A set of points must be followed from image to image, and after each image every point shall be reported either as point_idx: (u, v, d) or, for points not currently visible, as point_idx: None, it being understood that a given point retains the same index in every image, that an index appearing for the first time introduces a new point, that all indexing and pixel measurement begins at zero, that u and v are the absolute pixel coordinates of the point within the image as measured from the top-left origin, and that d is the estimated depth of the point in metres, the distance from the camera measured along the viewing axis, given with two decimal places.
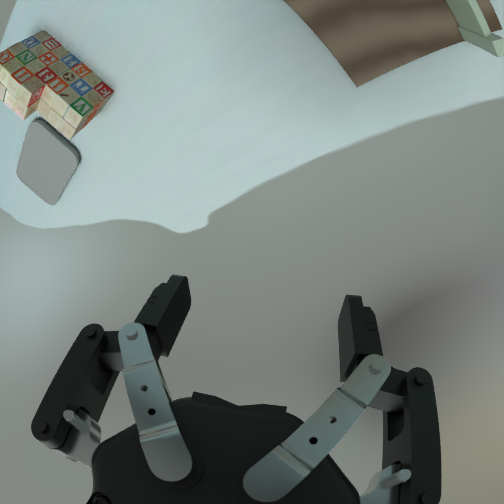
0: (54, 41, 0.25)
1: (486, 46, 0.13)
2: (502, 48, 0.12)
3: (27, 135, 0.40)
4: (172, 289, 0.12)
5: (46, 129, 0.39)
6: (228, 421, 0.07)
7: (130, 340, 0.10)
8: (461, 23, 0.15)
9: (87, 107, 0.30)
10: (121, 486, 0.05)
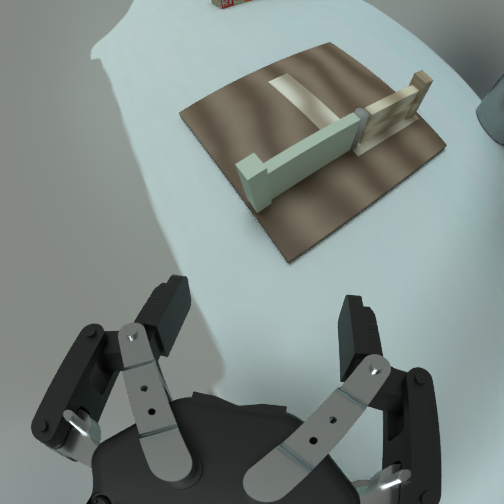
0: None
1: None
2: (251, 169, 0.23)
3: None
4: (172, 289, 0.12)
5: None
6: (228, 421, 0.07)
7: (130, 340, 0.10)
8: None
9: None
10: (121, 486, 0.05)
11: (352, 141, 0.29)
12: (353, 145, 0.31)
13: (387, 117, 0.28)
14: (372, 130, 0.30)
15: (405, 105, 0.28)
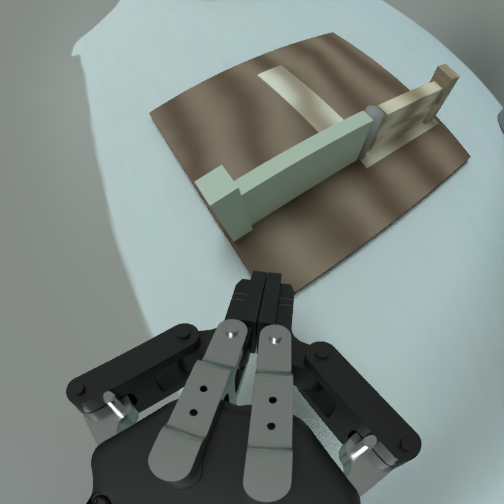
0: None
1: None
2: (215, 189, 0.16)
3: None
4: (259, 284, 0.13)
5: None
6: (228, 421, 0.07)
7: (233, 338, 0.10)
8: None
9: None
10: (105, 481, 0.05)
11: (360, 149, 0.23)
12: (360, 154, 0.24)
13: (404, 119, 0.22)
14: (385, 135, 0.23)
15: (425, 106, 0.21)
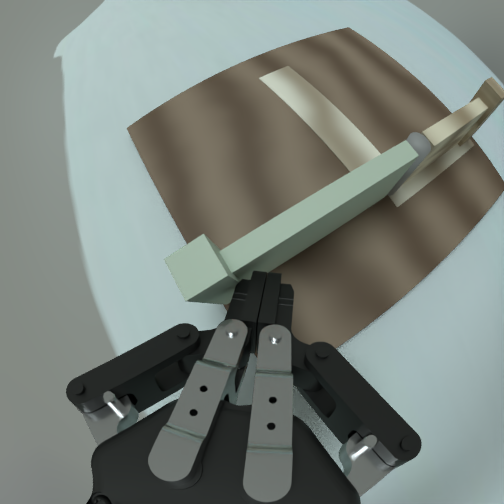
0: None
1: None
2: (194, 275, 0.11)
3: None
4: (259, 284, 0.13)
5: None
6: (228, 421, 0.07)
7: (233, 338, 0.10)
8: None
9: None
10: (104, 481, 0.05)
11: (393, 186, 0.17)
12: (391, 190, 0.18)
13: (445, 146, 0.16)
14: (422, 166, 0.17)
15: (468, 128, 0.16)
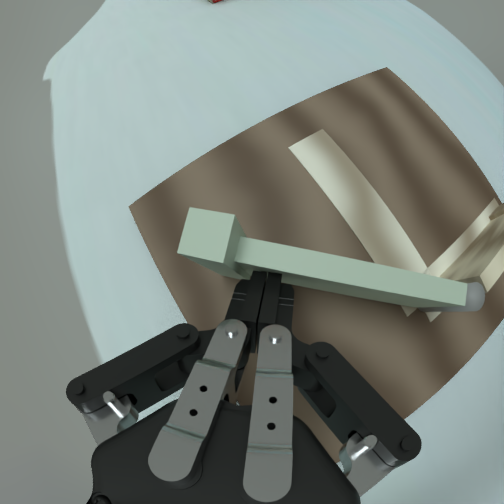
0: None
1: None
2: (200, 239, 0.11)
3: None
4: (259, 284, 0.13)
5: None
6: (228, 421, 0.07)
7: (233, 338, 0.10)
8: None
9: None
10: (105, 482, 0.05)
11: (427, 306, 0.15)
12: (423, 308, 0.16)
13: None
14: None
15: None
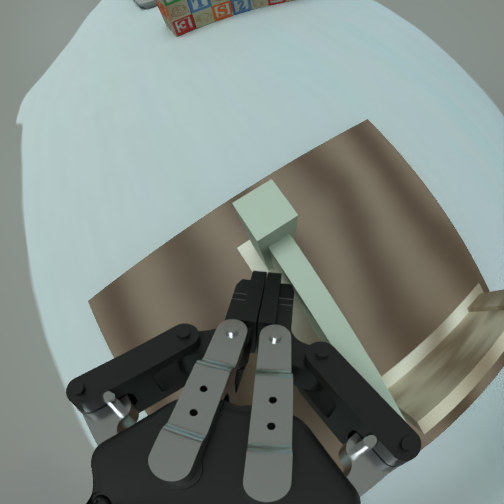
0: (278, 1, 0.28)
1: None
2: (257, 209, 0.11)
3: None
4: (259, 284, 0.13)
5: None
6: (228, 421, 0.07)
7: (233, 338, 0.10)
8: None
9: (168, 0, 0.22)
10: (105, 481, 0.05)
11: None
12: None
13: None
14: None
15: None
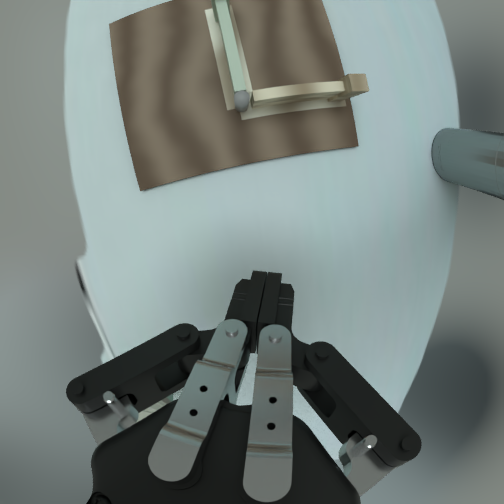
0: None
1: None
2: None
3: None
4: (259, 284, 0.13)
5: None
6: (228, 421, 0.07)
7: (233, 338, 0.10)
8: None
9: None
10: (105, 482, 0.05)
11: None
12: None
13: (289, 99, 0.28)
14: (266, 104, 0.29)
15: (321, 95, 0.27)
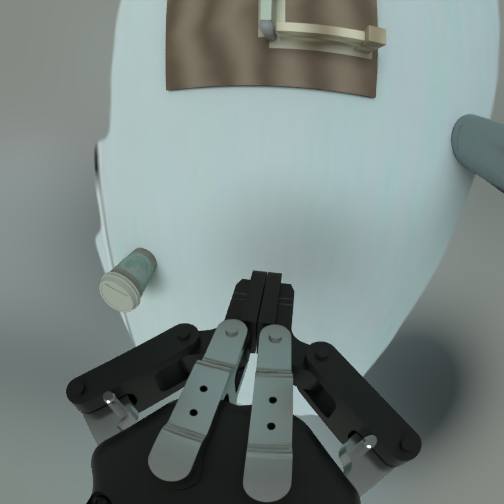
0: None
1: None
2: None
3: None
4: (259, 284, 0.13)
5: None
6: (228, 421, 0.07)
7: (233, 338, 0.10)
8: None
9: None
10: (105, 481, 0.05)
11: None
12: None
13: (313, 37, 0.25)
14: (292, 38, 0.26)
15: (344, 40, 0.24)
